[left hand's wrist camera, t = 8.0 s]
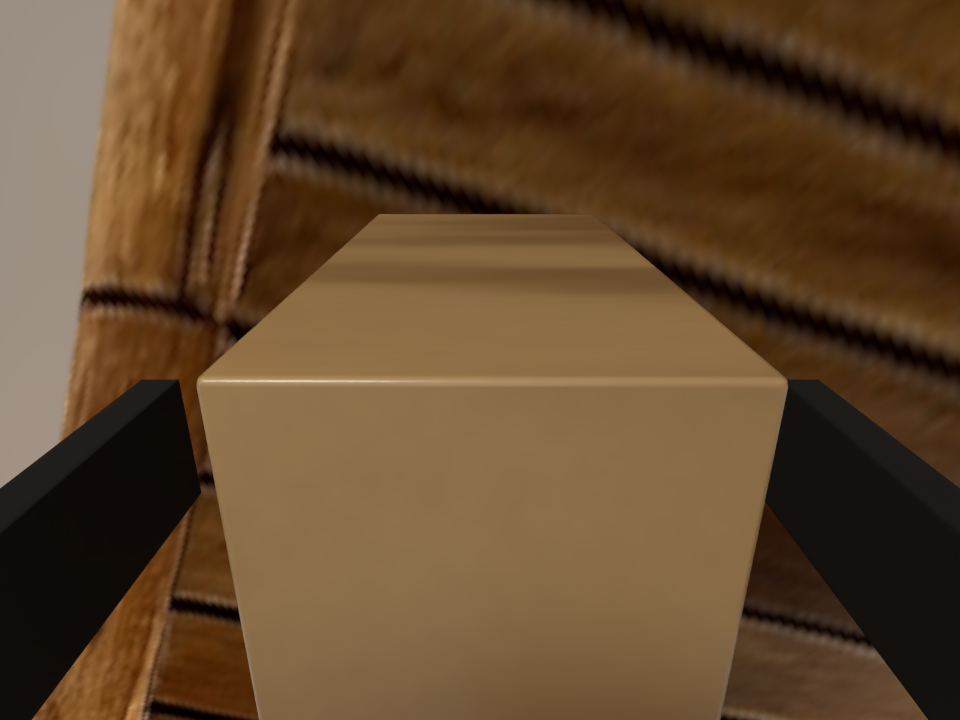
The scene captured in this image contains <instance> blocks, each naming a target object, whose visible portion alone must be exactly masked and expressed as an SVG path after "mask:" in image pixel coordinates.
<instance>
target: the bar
mask: <svg viewBox="0 0 960 720" xmlns="http://www.w3.org/2000/svg"><path fill="white" fill-rule="evenodd" d="M787 390H788V383H787V379H786V378H785V377H784V376H783V375H782V374H781V373H779V372H778V371H777V370H776V369H775V368H774V367H772V366H771V365H770V364H769V363H768V362H766V361H765V360H764V359H763V358H762V357H761V356H759V355H758V354H757V353H756V352H755V351H754V350H752V349H751V348H750V347H749V346H748V345H747V344H745V343H744V342H743V341H742V340H741V339H739V338H738V337H737V336H736V335H735V334H734V333H732V332H731V331H730V330H729V329H728V328H727V327H725V326H724V325H723V324H722V323H721V322H719V321H718V320H717V319H716V318H715V317H714V316H712V315H711V314H710V313H709V312H708V311H707V310H705V309H704V308H703V307H702V306H701V305H699V304H698V303H697V302H696V301H695V300H694V299H692V298H691V297H690V296H689V295H688V294H687V293H685V292H684V291H683V290H682V289H681V288H680V287H678V286H677V285H676V284H675V283H674V282H672V281H671V280H670V279H669V278H668V277H667V276H665V275H664V274H663V273H662V272H661V271H660V270H658V269H657V268H656V267H655V266H654V265H652V264H651V263H650V262H649V261H648V260H647V259H645V258H644V257H643V256H642V255H641V254H640V253H638V252H637V251H636V250H635V249H634V248H632V247H631V246H630V245H629V244H628V243H627V242H625V241H624V240H623V239H622V238H621V237H620V236H618V235H617V234H616V233H615V232H614V231H612V230H611V229H610V228H609V227H608V226H607V225H605V224H604V223H603V222H602V221H601V220H600V219H598V218H597V217H596V216H595V215H593V214H380V215H377V216H376V217H375V218H374V219H373V220H372V221H371V222H370V223H369V224H368V225H366V226H365V227H364V228H363V229H362V230H361V231H360V232H359V233H358V234H356V235H355V236H354V237H353V238H352V239H351V240H350V241H349V242H348V243H346V244H345V245H344V246H343V247H342V248H341V249H340V250H339V251H338V252H337V253H335V254H334V255H333V256H332V257H331V258H330V259H329V260H328V261H327V262H325V263H324V264H323V265H322V266H321V267H320V268H319V269H318V270H317V271H316V272H314V273H313V274H312V275H311V276H310V277H309V278H308V279H307V280H306V281H304V282H303V283H302V284H301V285H300V286H299V287H298V288H297V289H296V290H294V291H293V292H292V293H291V294H290V295H289V296H288V297H287V298H286V299H285V300H283V301H282V302H281V303H280V304H279V305H278V306H277V307H276V308H275V309H273V310H272V311H271V312H270V313H269V314H268V315H267V316H266V317H265V318H263V319H262V320H261V321H260V322H259V323H258V324H257V325H256V326H255V327H254V328H252V329H251V330H250V331H249V332H248V333H247V334H246V335H245V336H244V337H242V338H241V339H240V340H239V341H238V342H237V343H236V344H235V345H234V346H233V347H231V348H230V349H229V350H228V351H227V352H226V353H225V354H224V355H223V356H221V357H220V358H219V359H218V360H217V361H216V362H215V363H214V364H213V365H211V366H210V367H209V368H208V369H207V370H206V371H205V372H204V373H203V374H202V375H200V376H199V377H198V381H197V391H198V396H199V401H200V407H201V412H202V417H203V423H204V428H205V433H206V439H207V444H208V449H209V455H210V460H211V465H212V471H213V476H214V481H215V487H216V492H217V497H218V503H219V508H220V513H221V519H222V524H223V529H224V535H225V540H226V545H227V551H228V556H229V561H230V567H231V572H232V577H233V583H234V588H235V593H236V599H237V604H238V609H239V615H240V620H241V625H242V631H243V636H244V641H245V647H246V652H247V657H248V663H249V668H250V673H251V679H252V684H253V689H254V695H255V700H256V705H257V711H258V716H259V720H720V719H721V714H722V709H723V704H724V699H725V694H726V689H727V684H728V679H729V675H730V670H731V665H732V660H733V655H734V650H735V645H736V640H737V635H738V630H739V626H740V621H741V616H742V611H743V606H744V601H745V596H746V591H747V586H748V581H749V577H750V572H751V567H752V562H753V557H754V552H755V547H756V542H757V537H758V532H759V528H760V523H761V518H762V513H763V508H764V503H765V498H766V493H767V488H768V483H769V479H770V474H771V469H772V464H773V459H774V454H775V449H776V444H777V439H778V434H779V430H780V425H781V420H782V415H783V410H784V405H785V400H786V395H787Z"/></svg>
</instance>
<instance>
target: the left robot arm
mask: <svg viewBox="0 0 960 720" xmlns="http://www.w3.org/2000/svg"><path fill="white" fill-rule="evenodd" d="M787 383H788V390H787V395H786V400H785V405H784V410H783V415H782V420H781V425H780V430H779V434H778V439H777V444H776V449H775V454H774V459H773V464H772V469H771V474H770V479H769V483H768V488H767V493H766V498H765V502H766V503H767V504H768V506H769V507H770V508H771V510H772V511H773V512H774V514H775V515H776V516H777V518H778V519H779V520H780V522H781V523H782V524H783V526H784V527H785V528H786V530H787V531H788V532H789V534H790V535H791V536H792V538H793V539H794V540H795V542H796V543H797V544H798V546H799V547H800V549H801V550H802V551H803V553H804V554H805V555H806V557H807V558H808V559H809V561H810V562H811V563H812V565H813V566H814V567H815V569H816V570H817V571H818V573H819V574H820V575H821V577H822V578H823V579H824V581H825V582H826V583H827V585H828V586H829V587H830V589H831V590H832V591H833V593H834V594H835V595H836V597H837V598H838V599H839V601H840V602H841V603H842V605H843V606H844V607H845V609H846V610H847V611H848V613H849V614H850V615H851V617H852V618H853V619H854V621H855V622H856V623H857V625H858V626H859V628H860V629H861V630H862V632H863V633H864V634H865V636H866V637H867V638H868V640H869V641H870V642H871V644H872V645H873V646H874V648H875V649H876V650H877V652H878V653H879V654H880V656H881V657H882V658H883V660H884V661H885V662H886V664H887V665H888V666H889V668H890V669H891V670H892V672H893V673H894V674H895V676H896V677H897V678H898V680H899V681H900V682H901V684H902V685H903V686H904V688H905V689H906V690H907V692H908V693H909V694H910V696H911V697H912V698H913V700H914V701H915V702H916V704H917V705H918V707H919V708H920V709H921V711H922V712H923V713H924V715H925V716H926V717H927V719H928V720H960V488H958V487H957V486H956V485H955V484H953V483H952V482H951V481H949V480H948V479H947V478H945V477H944V476H943V475H942V474H940V473H939V472H938V471H936V470H935V469H934V468H932V467H931V466H930V465H929V464H927V463H926V462H925V461H923V460H922V459H921V458H919V457H918V456H917V455H916V454H914V453H913V452H912V451H910V450H909V449H908V448H906V447H905V446H904V445H903V444H901V443H900V442H899V441H897V440H896V439H895V438H893V437H892V436H891V435H890V434H888V433H887V432H886V431H884V430H883V429H882V428H880V427H879V426H878V425H877V424H875V423H874V422H873V421H871V420H870V419H869V418H867V417H866V416H865V415H864V414H862V413H861V412H860V411H858V410H857V409H856V408H854V407H853V406H852V405H851V404H849V403H848V402H847V401H845V400H844V399H843V398H841V397H840V396H839V395H838V394H836V393H835V392H834V391H832V390H831V389H830V388H828V387H827V386H826V385H825V384H823V383H822V382H821V381H819V380H787ZM200 494H201V489H200V484H199V479H198V474H197V469H196V464H195V459H194V454H193V449H192V444H191V439H190V434H189V429H188V424H187V419H186V414H185V409H184V404H183V399H182V394H181V389H180V384H179V380H141V381H139V382H138V383H137V384H135V385H134V386H133V387H132V388H130V389H129V390H128V391H126V392H125V393H124V394H122V395H121V396H120V397H119V398H117V399H116V400H115V401H113V402H112V403H111V404H109V405H108V406H107V407H106V408H104V409H103V410H102V411H100V412H99V413H98V414H96V415H95V416H94V417H93V418H91V419H90V420H89V421H87V422H86V423H85V424H83V425H82V426H81V427H80V428H78V429H77V430H76V431H74V432H73V433H72V434H70V435H69V436H68V437H67V438H65V439H64V440H63V441H61V442H60V443H59V444H57V445H56V446H55V447H54V448H52V449H51V450H50V451H48V452H47V453H46V454H45V455H43V456H42V457H41V458H39V459H38V460H37V461H35V462H34V463H33V464H32V465H30V466H29V467H28V468H26V469H25V470H24V471H22V472H21V473H20V474H19V475H17V476H16V477H15V478H13V479H12V480H11V481H9V482H8V483H7V484H6V485H4V486H3V487H2V488H0V720H32V719H33V717H34V716H35V715H36V713H37V712H38V711H39V709H40V708H41V707H42V705H43V704H44V703H45V701H46V700H47V699H48V697H49V696H50V694H51V693H52V692H53V690H54V689H55V688H56V686H57V685H58V684H59V682H60V681H61V680H62V678H63V677H64V676H65V674H66V673H67V672H68V670H69V669H70V668H71V666H72V665H73V664H74V662H75V661H76V660H77V658H78V657H79V656H80V654H81V653H82V652H83V650H84V649H85V648H86V646H87V645H88V644H89V642H90V641H91V640H92V638H93V637H94V636H95V634H96V633H97V632H98V630H99V629H100V628H101V626H102V625H103V624H104V622H105V621H106V619H107V618H108V617H109V615H110V614H111V613H112V611H113V610H114V609H115V607H116V606H117V605H118V603H119V602H120V601H121V599H122V598H123V597H124V595H125V594H126V593H127V591H128V590H129V589H130V587H131V586H132V585H133V583H134V582H135V581H136V579H137V578H138V577H139V575H140V574H141V573H142V571H143V570H144V569H145V567H146V566H147V565H148V563H149V562H150V561H151V559H152V558H153V557H154V555H155V554H156V553H157V551H158V550H159V549H160V547H161V546H162V545H163V543H164V542H165V540H166V539H167V538H168V536H169V535H170V534H171V532H172V531H173V530H174V528H175V527H176V526H177V524H178V523H179V522H180V520H181V519H182V518H183V516H184V515H185V514H186V512H187V511H188V510H189V508H190V507H191V506H192V504H193V503H194V502H195V500H196V499H197V498H198V496H199V495H200Z"/></svg>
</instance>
